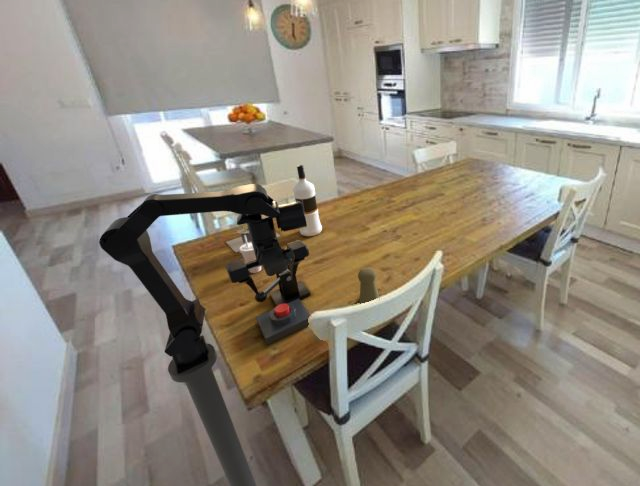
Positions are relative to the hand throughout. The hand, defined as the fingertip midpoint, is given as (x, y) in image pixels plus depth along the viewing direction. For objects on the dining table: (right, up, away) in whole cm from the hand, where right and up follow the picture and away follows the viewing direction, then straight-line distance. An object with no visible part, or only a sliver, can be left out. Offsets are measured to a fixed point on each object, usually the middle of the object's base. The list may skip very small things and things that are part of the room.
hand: (275, 286), depth 85 cm
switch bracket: (-2, -7, +15) cm, 17 cm away
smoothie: (-20, -2, +28) cm, 35 cm away
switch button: (0, -8, +3) cm, 9 cm away
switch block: (+1, -11, +4) cm, 12 cm away
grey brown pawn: (+23, -8, +12) cm, 27 cm away
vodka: (-9, +9, +54) cm, 56 cm away
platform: (-32, +7, +49) cm, 59 cm away
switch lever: (-5, -4, +12) cm, 13 cm away
